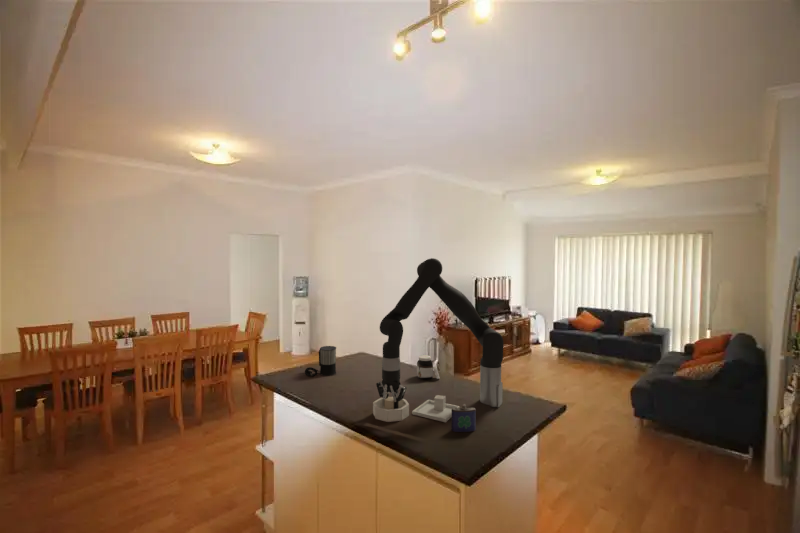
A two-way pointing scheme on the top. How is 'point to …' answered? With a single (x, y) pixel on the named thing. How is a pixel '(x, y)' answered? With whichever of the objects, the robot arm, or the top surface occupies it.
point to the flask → (463, 419)
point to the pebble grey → (439, 402)
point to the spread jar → (426, 368)
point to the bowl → (390, 411)
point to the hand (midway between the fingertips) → (391, 408)
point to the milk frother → (325, 362)
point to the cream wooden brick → (389, 403)
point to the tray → (434, 411)
